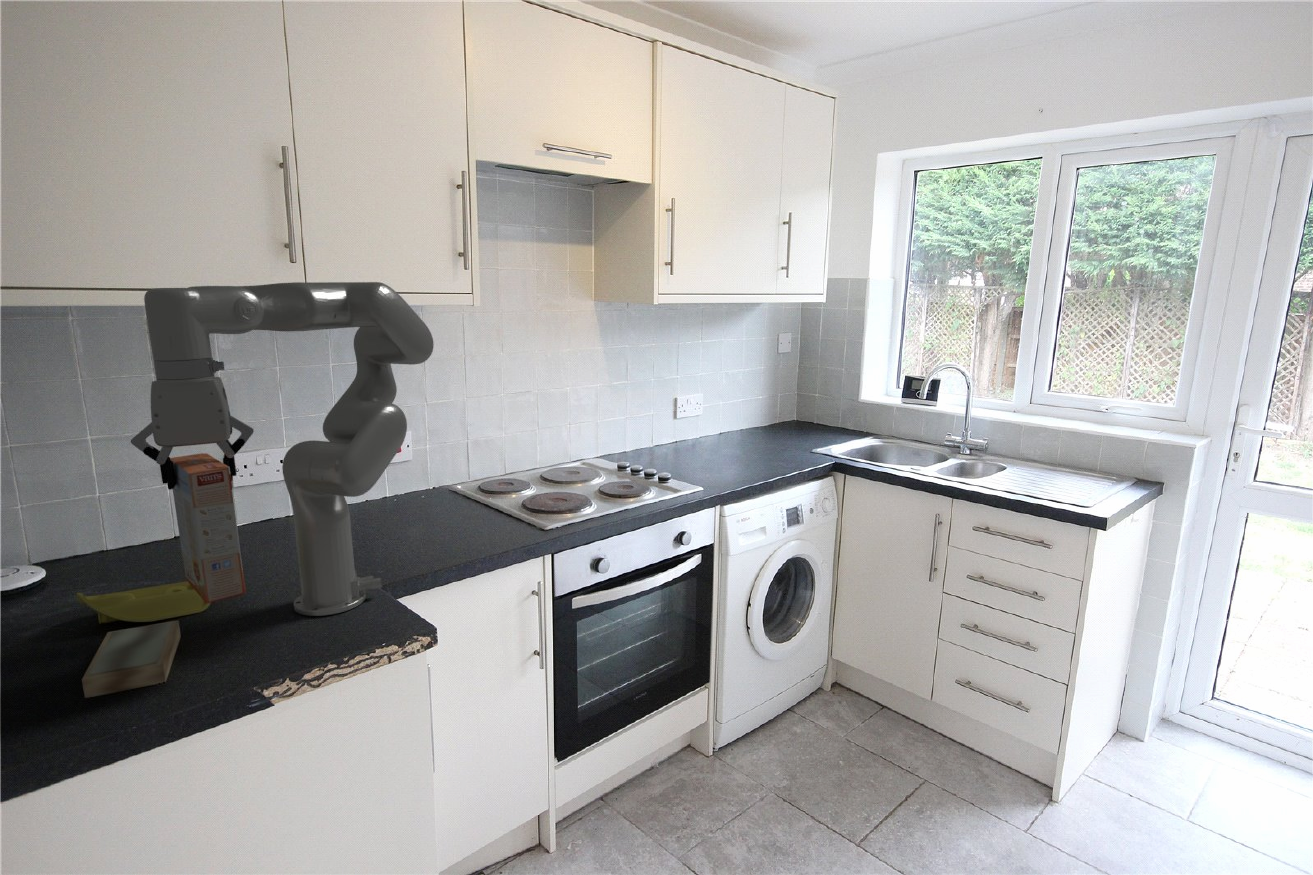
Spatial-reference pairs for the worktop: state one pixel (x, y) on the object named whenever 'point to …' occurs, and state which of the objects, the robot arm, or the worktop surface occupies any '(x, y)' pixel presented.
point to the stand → (132, 659)
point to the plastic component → (146, 603)
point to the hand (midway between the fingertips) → (201, 483)
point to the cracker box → (208, 527)
